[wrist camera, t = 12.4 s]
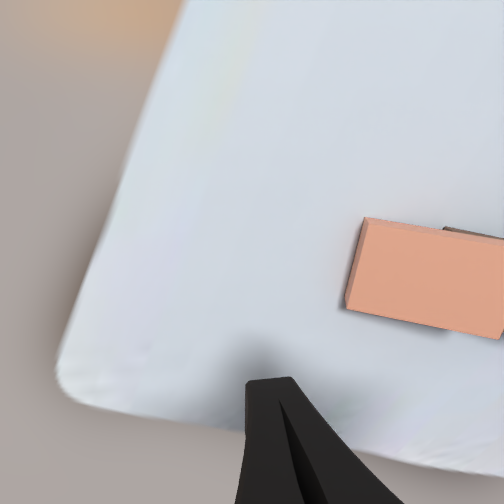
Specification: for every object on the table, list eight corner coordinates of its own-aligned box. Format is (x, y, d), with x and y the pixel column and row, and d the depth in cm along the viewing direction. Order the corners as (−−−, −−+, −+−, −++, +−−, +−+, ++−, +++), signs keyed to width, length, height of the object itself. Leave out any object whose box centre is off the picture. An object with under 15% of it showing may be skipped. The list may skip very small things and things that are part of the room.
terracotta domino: (364, 217, 18) (519, 242, 17) (344, 296, 20) (484, 324, 19) (368, 223, 17) (538, 252, 16) (346, 308, 19) (498, 339, 18)
